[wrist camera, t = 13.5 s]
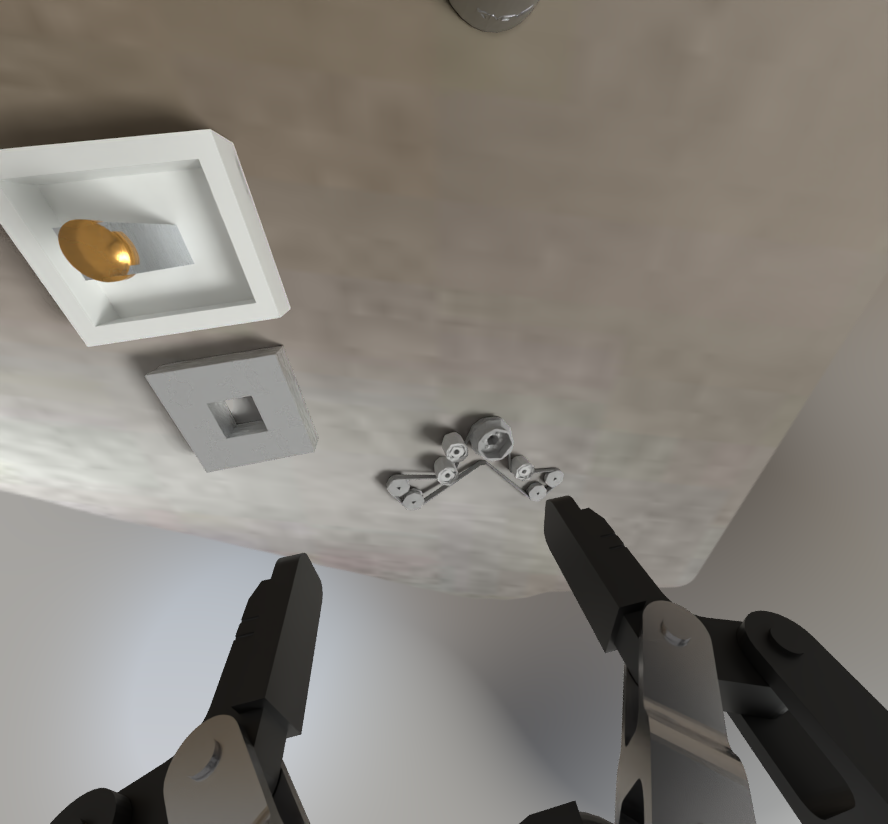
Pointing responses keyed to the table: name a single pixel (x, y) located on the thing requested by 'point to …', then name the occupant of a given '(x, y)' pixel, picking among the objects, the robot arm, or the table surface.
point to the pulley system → (488, 450)
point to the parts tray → (151, 202)
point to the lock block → (209, 419)
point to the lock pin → (120, 248)
